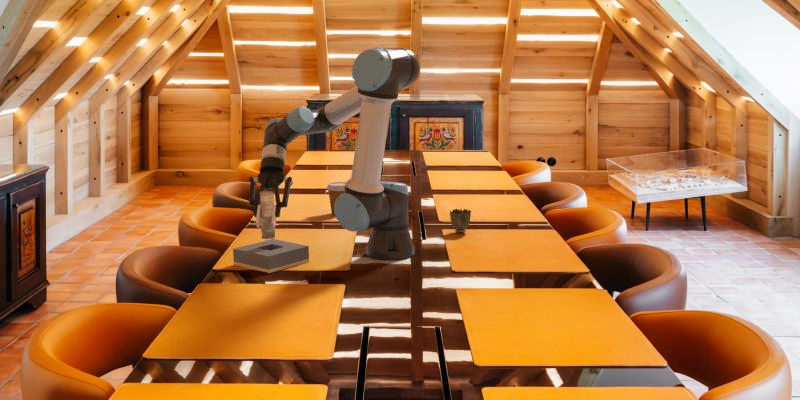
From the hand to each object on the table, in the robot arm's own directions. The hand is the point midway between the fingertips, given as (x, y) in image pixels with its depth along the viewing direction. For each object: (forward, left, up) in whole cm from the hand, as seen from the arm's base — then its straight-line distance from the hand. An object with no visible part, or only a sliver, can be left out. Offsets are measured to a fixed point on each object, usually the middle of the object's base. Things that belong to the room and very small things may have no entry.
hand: (265, 225), depth 245 cm
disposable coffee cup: (+37, -71, -13) cm, 81 cm away
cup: (-21, -71, -13) cm, 75 cm away
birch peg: (+2, -3, -5) cm, 6 cm away
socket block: (+1, -3, -12) cm, 13 cm away
